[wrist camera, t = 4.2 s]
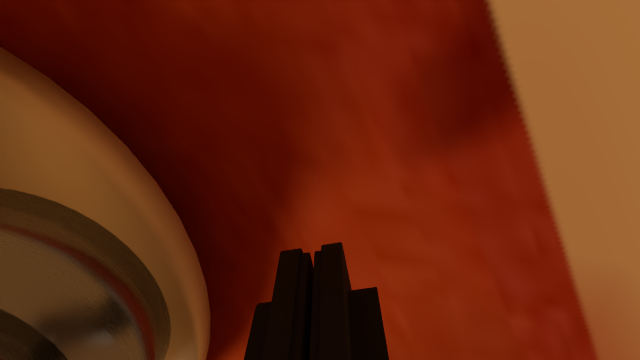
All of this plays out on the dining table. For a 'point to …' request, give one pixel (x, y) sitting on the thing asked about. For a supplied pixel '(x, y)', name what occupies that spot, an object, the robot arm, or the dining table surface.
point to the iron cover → (73, 288)
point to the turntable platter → (100, 191)
